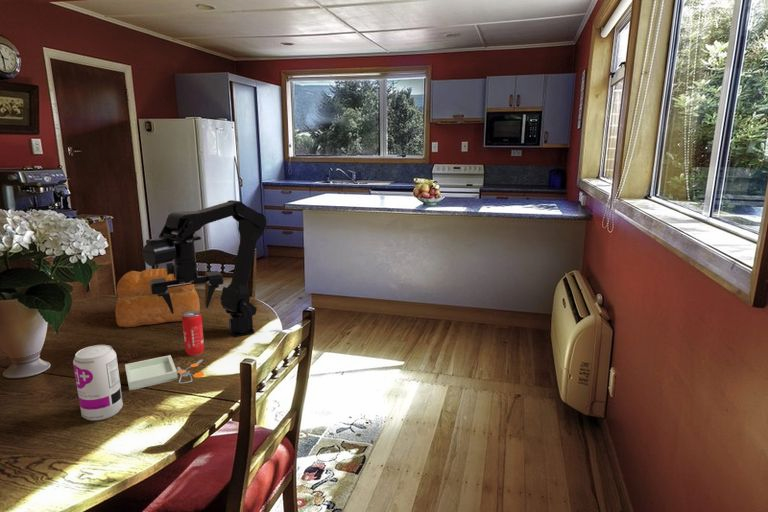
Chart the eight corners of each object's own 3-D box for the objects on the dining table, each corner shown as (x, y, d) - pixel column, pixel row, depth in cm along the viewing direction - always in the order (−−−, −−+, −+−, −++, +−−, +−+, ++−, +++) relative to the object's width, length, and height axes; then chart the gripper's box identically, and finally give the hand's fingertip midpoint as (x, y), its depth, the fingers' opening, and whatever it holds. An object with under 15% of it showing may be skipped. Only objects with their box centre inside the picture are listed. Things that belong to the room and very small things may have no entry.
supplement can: (94, 426, 103) (84, 363, 99) (74, 414, 107) (64, 353, 103) (130, 409, 109) (122, 349, 106) (110, 398, 114) (102, 340, 110)
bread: (120, 314, 167) (114, 267, 163) (199, 305, 177) (196, 261, 173) (114, 330, 153) (107, 279, 149) (200, 320, 163) (196, 272, 159)
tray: (171, 362, 132) (170, 355, 132) (177, 379, 123) (177, 371, 123) (125, 371, 127) (124, 364, 126) (129, 390, 117) (128, 382, 117)
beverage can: (197, 357, 136) (194, 317, 133) (181, 355, 137) (177, 316, 134) (207, 349, 141) (204, 311, 138) (192, 347, 142) (188, 309, 139)
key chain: (205, 381, 123) (204, 378, 123) (174, 386, 121) (174, 383, 120) (204, 360, 135) (204, 357, 134) (176, 364, 132) (176, 361, 132)
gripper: (213, 248, 143) (217, 297, 147) (144, 255, 134) (151, 307, 138) (221, 256, 134) (225, 308, 138) (148, 264, 125) (155, 320, 128)
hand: (189, 310), depth 136 cm, fingers open, 9 cm apart
